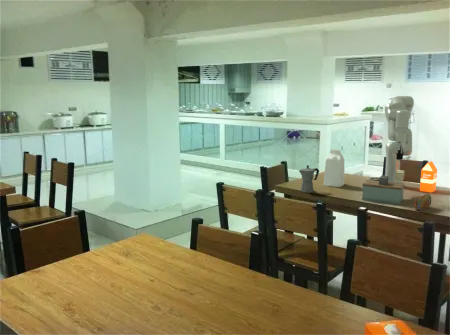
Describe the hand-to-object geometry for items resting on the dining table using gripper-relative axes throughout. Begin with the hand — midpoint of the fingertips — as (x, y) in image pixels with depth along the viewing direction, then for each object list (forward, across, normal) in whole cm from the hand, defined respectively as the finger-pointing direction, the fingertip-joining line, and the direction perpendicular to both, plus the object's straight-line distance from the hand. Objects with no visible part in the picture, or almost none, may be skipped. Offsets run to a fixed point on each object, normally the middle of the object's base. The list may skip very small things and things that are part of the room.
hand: (399, 158), depth 265 cm
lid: (+16, +10, -7) cm, 20 cm away
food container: (+25, -7, -14) cm, 30 cm away
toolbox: (+25, +8, -7) cm, 27 cm away
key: (+15, -6, 0) cm, 16 cm away
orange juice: (+25, -30, +15) cm, 42 cm away
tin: (+26, +20, +17) cm, 37 cm away
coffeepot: (+25, +12, -56) cm, 62 cm away
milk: (+25, -16, -46) cm, 55 cm away
